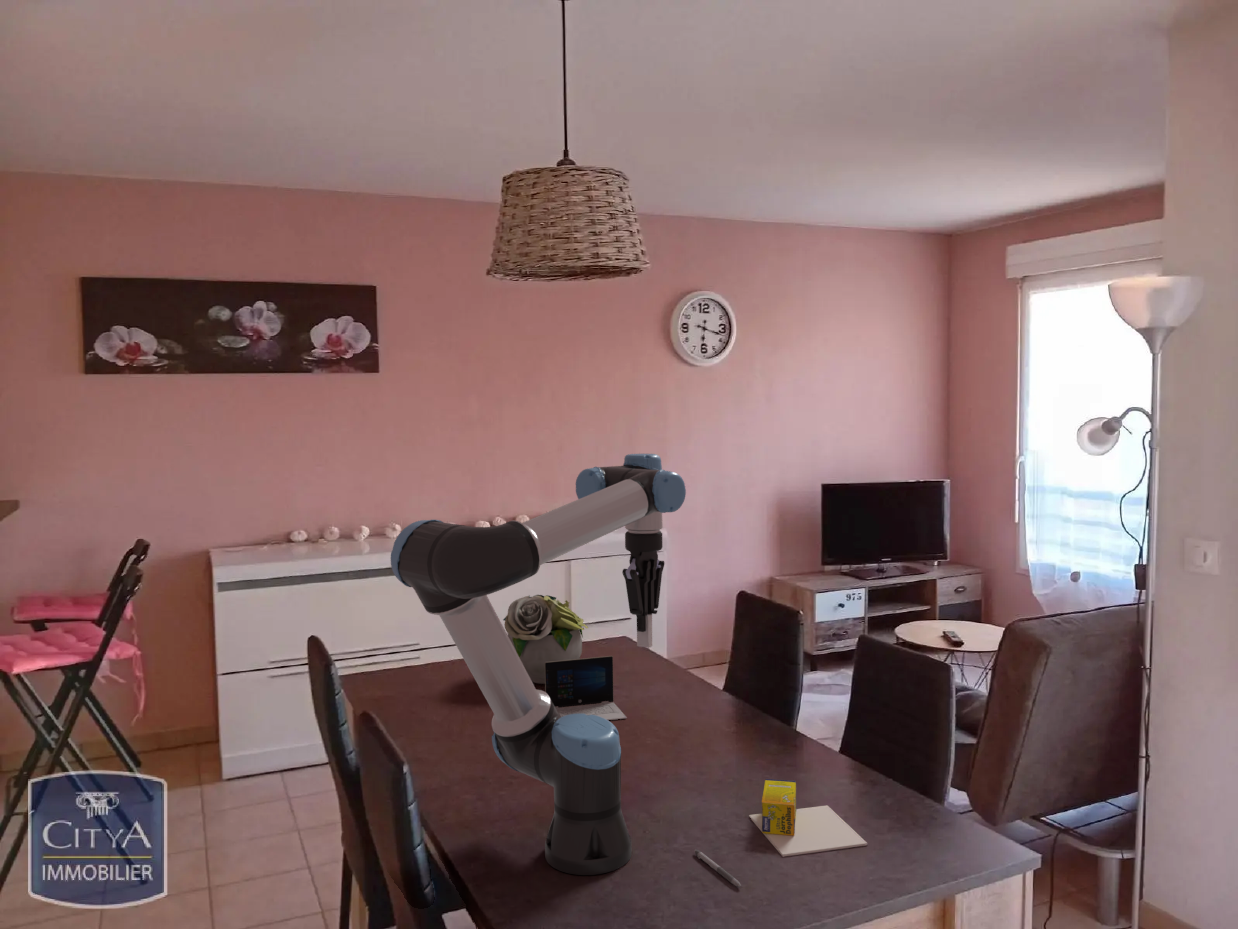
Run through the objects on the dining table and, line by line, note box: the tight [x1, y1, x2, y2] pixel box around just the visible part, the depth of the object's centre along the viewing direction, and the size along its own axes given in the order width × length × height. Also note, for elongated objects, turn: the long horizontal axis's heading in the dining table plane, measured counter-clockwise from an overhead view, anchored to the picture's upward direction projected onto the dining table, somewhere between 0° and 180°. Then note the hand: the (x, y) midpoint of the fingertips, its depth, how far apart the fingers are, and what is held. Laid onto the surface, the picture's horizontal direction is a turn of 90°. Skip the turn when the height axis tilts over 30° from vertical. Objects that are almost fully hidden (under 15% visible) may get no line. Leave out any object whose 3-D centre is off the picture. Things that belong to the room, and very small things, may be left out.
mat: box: [748, 805, 868, 858], centre depth 175 cm, size 16×16×1 cm
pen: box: [694, 849, 742, 888], centre depth 160 cm, size 1×14×1 cm, turn 27°
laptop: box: [544, 655, 627, 721], centre depth 239 cm, size 18×12×13 cm
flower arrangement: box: [502, 594, 589, 685], centre depth 268 cm, size 25×25×24 cm
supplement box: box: [760, 778, 797, 836], centre depth 177 cm, size 6×6×11 cm
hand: (644, 646), depth 193 cm, fingers closed
